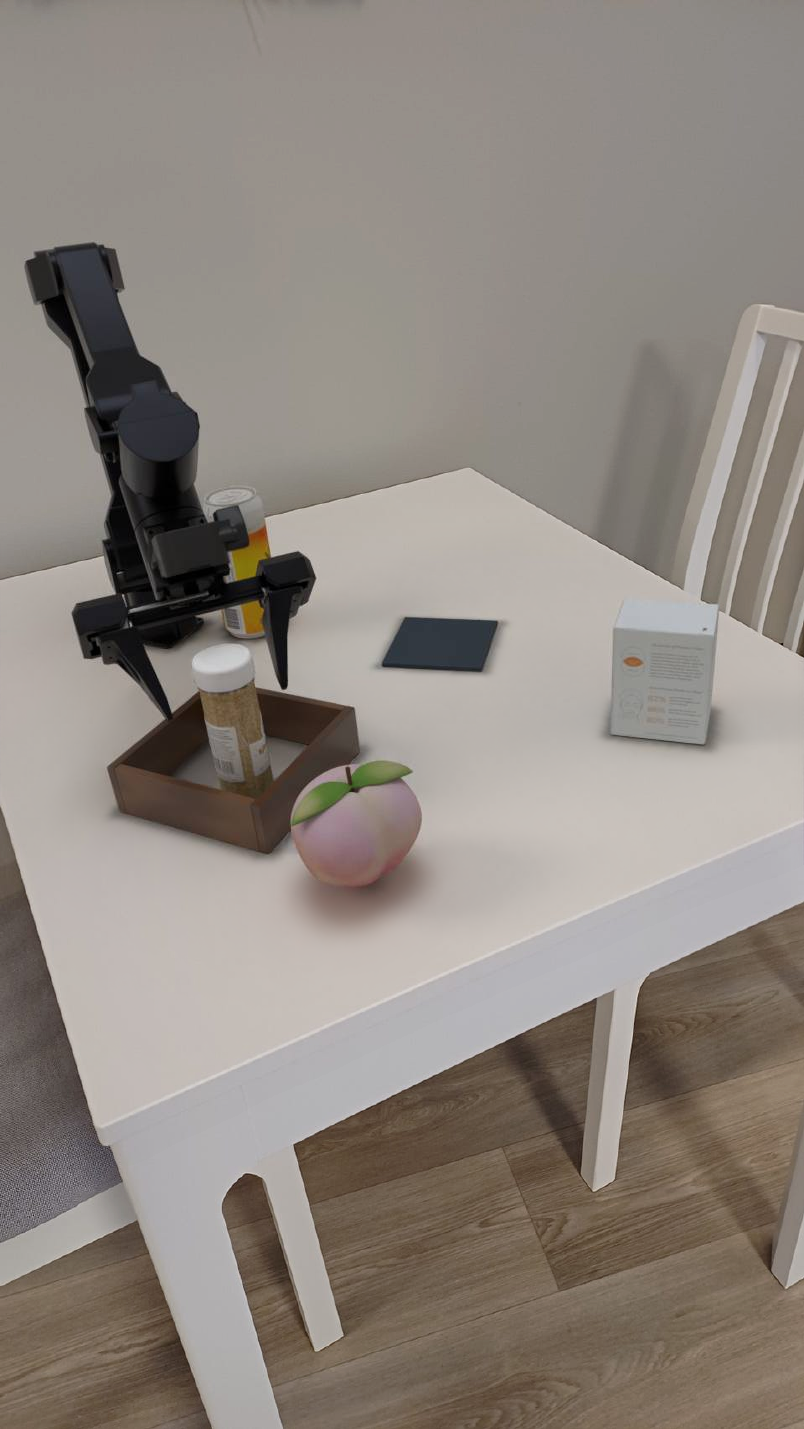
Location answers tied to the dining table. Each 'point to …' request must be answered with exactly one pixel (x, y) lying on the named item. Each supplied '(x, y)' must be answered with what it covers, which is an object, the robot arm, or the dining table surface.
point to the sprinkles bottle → (233, 718)
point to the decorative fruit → (356, 822)
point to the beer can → (242, 554)
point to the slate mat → (441, 644)
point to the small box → (663, 669)
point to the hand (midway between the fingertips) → (228, 703)
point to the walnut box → (220, 812)
